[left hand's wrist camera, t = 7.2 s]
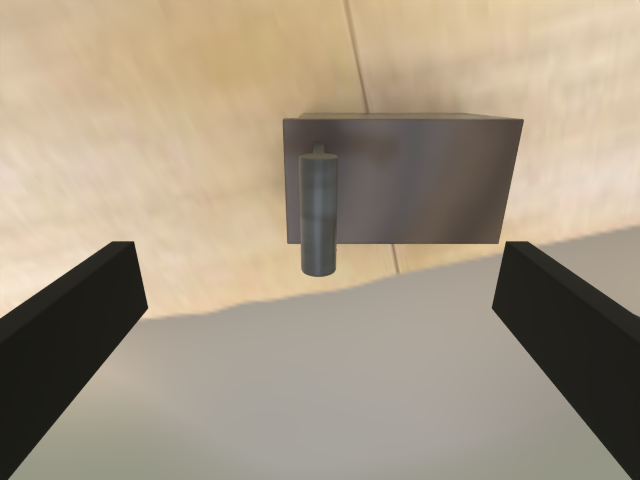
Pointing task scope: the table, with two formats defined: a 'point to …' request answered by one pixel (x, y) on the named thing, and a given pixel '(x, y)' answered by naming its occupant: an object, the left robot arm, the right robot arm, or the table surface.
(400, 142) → the lid
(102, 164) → the table surface
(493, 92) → the table surface
